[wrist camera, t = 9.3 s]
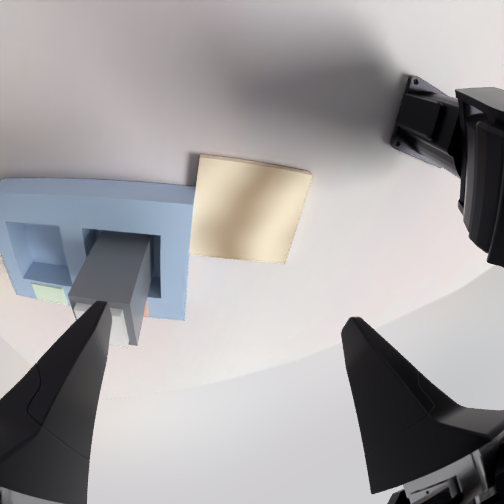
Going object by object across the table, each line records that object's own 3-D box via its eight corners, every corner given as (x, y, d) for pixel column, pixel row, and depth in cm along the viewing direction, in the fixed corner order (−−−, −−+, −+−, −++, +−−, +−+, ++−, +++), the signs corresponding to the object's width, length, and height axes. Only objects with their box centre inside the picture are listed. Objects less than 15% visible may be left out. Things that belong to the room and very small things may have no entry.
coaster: (309, 171, 20) (313, 175, 19) (283, 258, 24) (285, 263, 23) (200, 154, 18) (199, 157, 17) (189, 249, 22) (188, 254, 22)
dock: (196, 186, 19) (192, 206, 17) (186, 298, 26) (184, 324, 23) (4, 178, 16) (-17, 194, 13) (28, 277, 22) (16, 297, 19)
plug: (153, 227, 20) (127, 312, 13) (154, 268, 23) (136, 353, 16) (106, 223, 20) (64, 302, 13) (110, 263, 22) (80, 344, 15)
